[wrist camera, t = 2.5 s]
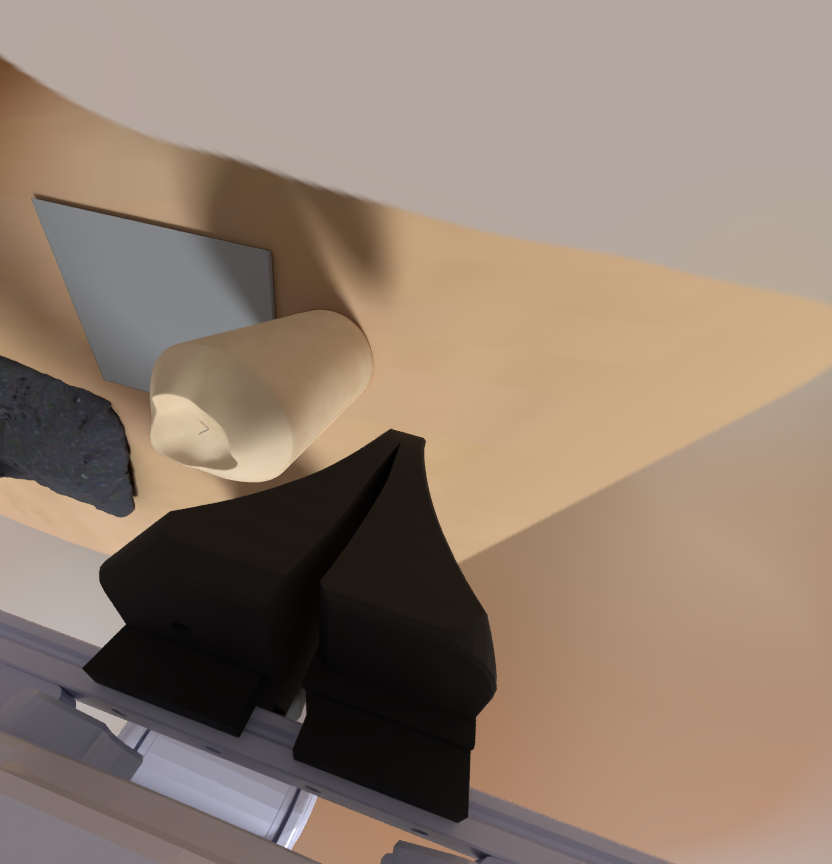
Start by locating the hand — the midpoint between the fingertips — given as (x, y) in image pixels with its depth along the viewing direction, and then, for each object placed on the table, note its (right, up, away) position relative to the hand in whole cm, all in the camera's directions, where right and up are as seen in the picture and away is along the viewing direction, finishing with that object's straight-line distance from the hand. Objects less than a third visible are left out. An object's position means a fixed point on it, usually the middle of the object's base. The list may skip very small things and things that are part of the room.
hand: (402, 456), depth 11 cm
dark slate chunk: (-35, +1, +18) cm, 39 cm away
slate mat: (-15, +8, +8) cm, 19 cm away
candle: (-5, +5, +7) cm, 10 cm away
